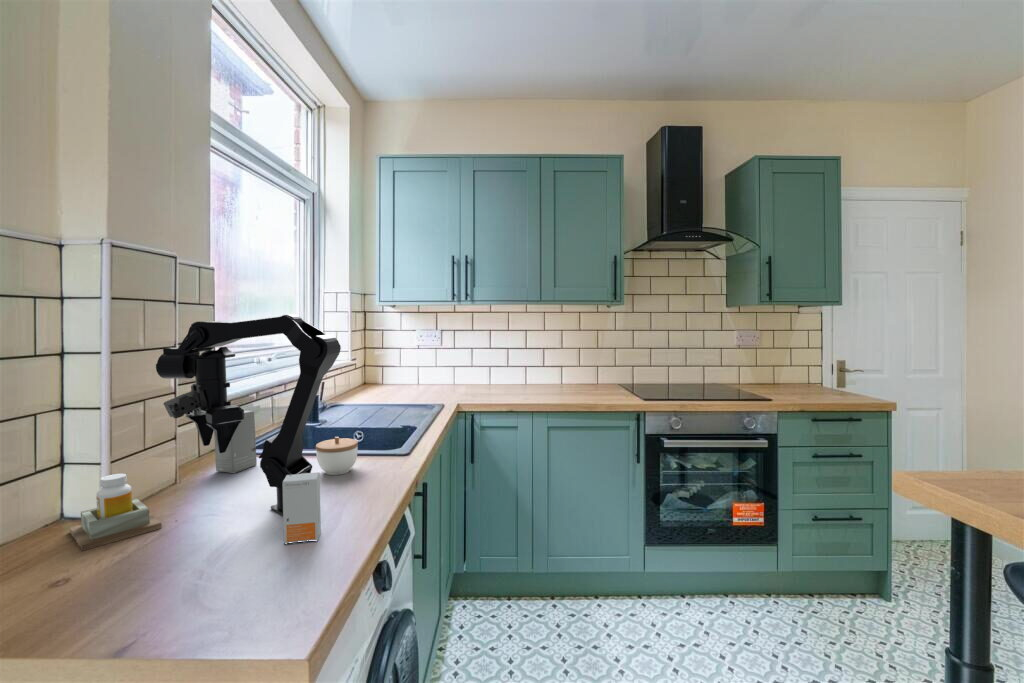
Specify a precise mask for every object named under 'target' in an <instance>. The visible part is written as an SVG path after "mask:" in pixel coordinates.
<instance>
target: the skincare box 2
mask: <svg viewBox="0 0 1024 683" xmlns="http://www.w3.org/2000/svg"><path fill="white" fill-rule="evenodd" d="M321 513H322V512H321V473H320V472H311V473H302V474H294V475H286V477H285V479H284V480H283V515H282V522H283V523H282V524H283V544H284V543H289V542H298V541H307V540H308V541H309V540H318V541H319V538H318V537H320V534H321V532H322V528H321V527H322V526H321V525H322V524H321V523H322V522H321V521H322V520H321V519H322V518H321Z"/></svg>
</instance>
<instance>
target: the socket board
mask: <svg viewBox="0 0 1024 683" xmlns="http://www.w3.org/2000/svg"><path fill="white" fill-rule="evenodd" d="M132 509H133V511H131V512H127V513H123V514H119V515H115V516H111V517H107V518H104V519H100V520H98V517H97V507H95V508H91V509H87V510H82V511H80V522H81V524H78V525H77V524H76V525H73V526H70V527H69V533H70V532H71V533H70V534H72V535H71V536H72V538H73V537H74V538H73V539H74V541H75V540H76V541H75V542H76V544H77V543H78V544H77V545H78V546H79V548H80V547H81V548H80V550H81V551H82V550H83V551H85V550H86V549H87V550H89V549H88V548H90V549H93V548H92V547H94V548H97V547H100V546H103V545H106V544H110V543H114V542H117V541H120V540H125V539H127V538H132V537H134V536H135V537H136V536H138V535H141V534H144V533H148V532H152V531H155V530H158V529H162V526H163V523H162V521H160V520H159V519H157V517H155V516H154V515H153V514H152V513H150V508H149V507H147V506H146V505H145V504H144V503H143V502H141V500H139V499H138V498H132ZM96 546H97V547H96Z"/></svg>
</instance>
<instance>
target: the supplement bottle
mask: <svg viewBox="0 0 1024 683" xmlns="http://www.w3.org/2000/svg"><path fill="white" fill-rule="evenodd" d="M127 478H128V477H127V474H126V473H114V474H110V475H105V476H102V477H100V479H99V483H100V487H101V488H100V489H99V490H98V491H97V492H96V495H95V496H96V498H95V499H96V508H97V517H98V520H100V519H104V518H107V517H111V516H115V515H119V514H123V513H127V512H131V511H133V509H132V499H133V494H132V493H133V492H132V486H131V485H130V484H128V483H127V480H128V479H127Z"/></svg>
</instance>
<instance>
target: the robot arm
mask: <svg viewBox="0 0 1024 683" xmlns="http://www.w3.org/2000/svg"><path fill="white" fill-rule="evenodd" d="M281 334H283V335H284V336H285V337H286V338H287V339H288V341H289V342H290V343H291V345H292V346H293V347H294V348H296V349H297V350H298V351H299V357H298V364H299V365H298V366H299V375H298V376H299V377H298V379H297V381H296V385H295V387H294V390H293V393H292V396H291V399H290V402H289V405H288V407H287V410H286V413H285V415H284V418H283V421H282V423H281V427H280V428H279V433H278V434H277V435H274V436H273V437H271V438H268V439H265V441H264V443H263V447H262V452H261V454H260V455H259V456H258V459H260V462H259V468H260V469H261V470H262V473H263V474H265V477H266V480H267V482H268V486H269V487H270V488H276V504H274V505H271V506H270V509H271V510H272V511H274V512H276V513H277V514H279V513H280V515H281V516H283V480H284V479H285V477H286V475H294V474H302V473H312V469H313V465H312V463H311V462H309V461H308V460H307V459H306V458H305V457H304V456H303V451H304V442H303V433H304V431H305V429H306V426H307V423H308V420H309V417H310V414H311V412H312V409H313V406H314V404H315V400H316V397H317V395H318V392H319V389H320V386H321V384H322V380H323V379H324V377H325V375H326V374H327V373H328V372H329V371H330V369H331V368H332V367H333V366H334V363H335V362H336V360H337V358H338V357H339V355H340V353H341V350H342V348H341V344H340V342H339V340H338V339H337V338H336V337H335V336H333V335H331V334H326V333H325V332H324V331H322V330H321V329H319V328H317V327H316V326H314V325H313V324H310V323H309V322H307V321H306V320H305V319H303V318H302V317H301V316H299V315H298V314H283V315H280V316H276V317H267V318H259V319H251V320H243V321H236V322H235V321H225V320H223V321H222V320H221V321H220V320H214V321H213V320H210V321H195V322H193V323H191V324H190V327H189V328H188V331H187V334H186V336H185V337H184V338H183V340H182V341H181V343H180V345H179V346H178V347H164V348H163V349H162V352H163V353H161V354H160V356H159V357H158V359H157V363H155V369H156V373H157V375H158V376H159V377H160V378H162V379H168V380H169V379H170V380H171V379H174V380H175V379H179V380H180V379H181V380H182V379H186V380H187V379H193V378H195V382H194V383H192V385H190V391H188V392H185V393H182V394H180V395H177V396H175V397H173V398H171V399H169V400H166V401H164V402H163V403H162V404H163V406H164V408H165V410H166V411H167V414H168V416H169V417H172V418H174V419H179V418H181V417H184V415H185V418H186V419H188V420H190V421H192V422H193V423H194V424H195V427H196V429H197V432H198V435H199V438H200V440H201V442H202V445H203V446H204V447H207V446H209V445H210V444H211V441H212V438H213V434H214V432H215V437H216V441H217V446H218V450H219V453H224V452H226V449H227V447H228V445H229V443H230V441H231V439H232V437H233V434H234V433H235V431H236V429H237V427H238V425H239V423H241V421H242V420H243V419H244V411H245V409H243V408H241V407H240V406H238V405H235V404H232V402H231V400H228V388H230V387H231V382H228V381H227V368H226V367H227V366H226V364H227V363H226V360H227V359H228V358H229V359H230V358H235V357H236V353H234V352H233V351H232V350H230V349H229V348H228V347H227V346H226V345H230V344H233V343H235V342H237V341H241V340H244V339H248V338H250V339H251V338H258V337H259V338H260V337H265V336H266V337H267V336H274V335H281ZM216 348H218V349H217V350H215V349H216ZM200 352H201V354H200Z"/></svg>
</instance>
